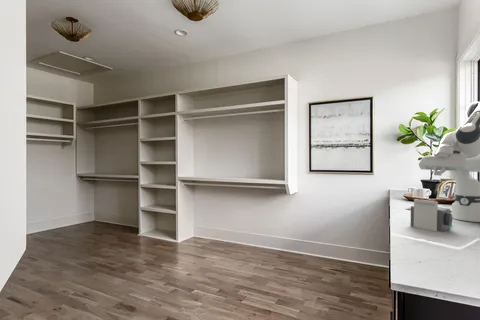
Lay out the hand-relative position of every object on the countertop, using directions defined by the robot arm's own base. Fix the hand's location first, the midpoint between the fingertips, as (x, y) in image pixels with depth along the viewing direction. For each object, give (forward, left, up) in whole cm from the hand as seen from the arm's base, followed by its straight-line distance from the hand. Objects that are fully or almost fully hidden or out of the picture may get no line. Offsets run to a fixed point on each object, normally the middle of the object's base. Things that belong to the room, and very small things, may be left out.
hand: (437, 174), depth 148 cm
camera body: (+8, 0, -27) cm, 28 cm away
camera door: (+13, 0, -26) cm, 29 cm away
